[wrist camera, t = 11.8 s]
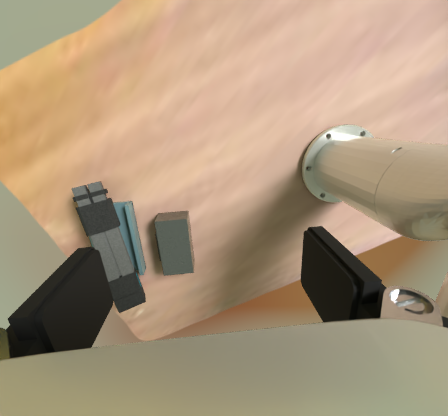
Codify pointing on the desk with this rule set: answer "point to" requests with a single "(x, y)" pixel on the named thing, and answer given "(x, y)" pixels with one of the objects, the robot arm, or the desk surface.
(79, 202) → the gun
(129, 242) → the cradle tray
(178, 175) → the desk surface
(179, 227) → the block
